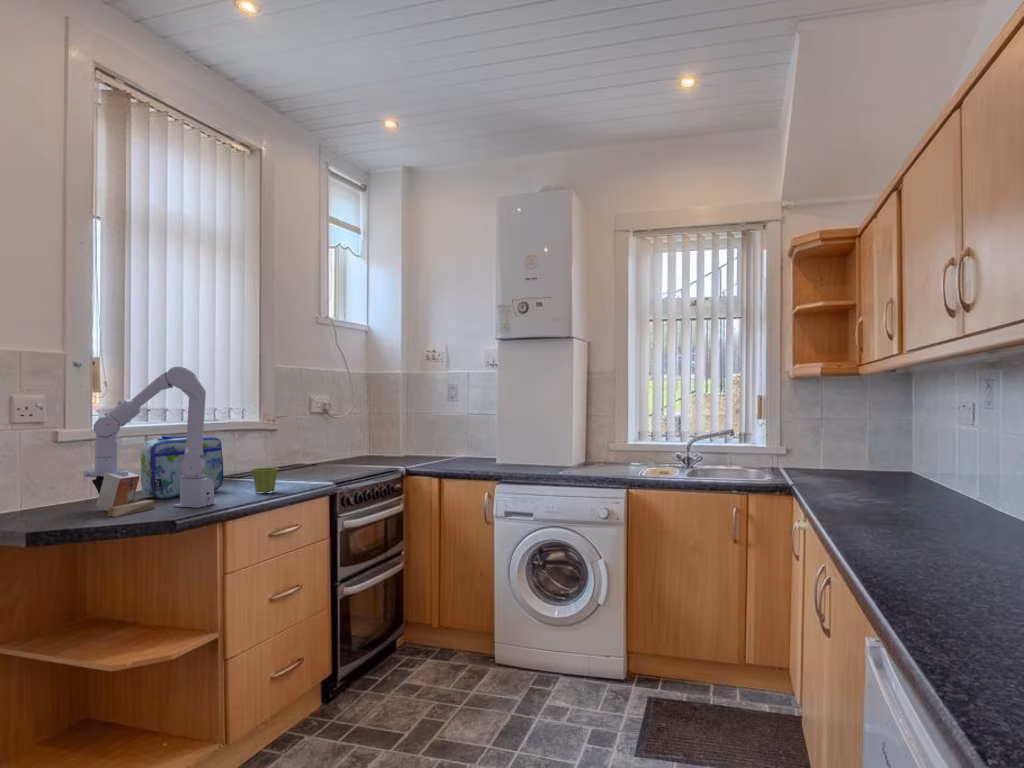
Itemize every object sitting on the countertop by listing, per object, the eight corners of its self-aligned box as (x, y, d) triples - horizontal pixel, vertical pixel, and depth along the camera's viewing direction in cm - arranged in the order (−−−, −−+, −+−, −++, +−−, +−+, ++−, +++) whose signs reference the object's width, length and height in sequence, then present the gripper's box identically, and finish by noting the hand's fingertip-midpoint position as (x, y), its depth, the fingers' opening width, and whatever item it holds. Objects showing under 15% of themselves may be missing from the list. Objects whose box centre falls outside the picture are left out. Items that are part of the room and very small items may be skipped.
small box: (110, 512, 187) (119, 478, 187) (95, 506, 188) (104, 473, 188) (131, 508, 195) (140, 475, 195) (117, 502, 196) (125, 470, 196)
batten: (154, 508, 194) (154, 500, 194) (116, 516, 181) (116, 508, 181) (146, 508, 195) (146, 500, 195) (107, 516, 181) (107, 507, 181)
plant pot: (244, 494, 225) (245, 469, 225) (264, 490, 234) (264, 467, 234) (265, 495, 221) (265, 470, 222) (284, 492, 230) (284, 468, 230)
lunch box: (152, 501, 209) (153, 437, 209) (136, 498, 215) (137, 436, 215) (226, 491, 230) (227, 434, 231) (209, 489, 236) (210, 433, 237)
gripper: (74, 457, 191) (74, 502, 190) (115, 458, 187) (114, 504, 187) (95, 455, 197) (94, 499, 197) (134, 456, 194) (133, 501, 194)
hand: (105, 501), depth 192 cm, fingers closed
